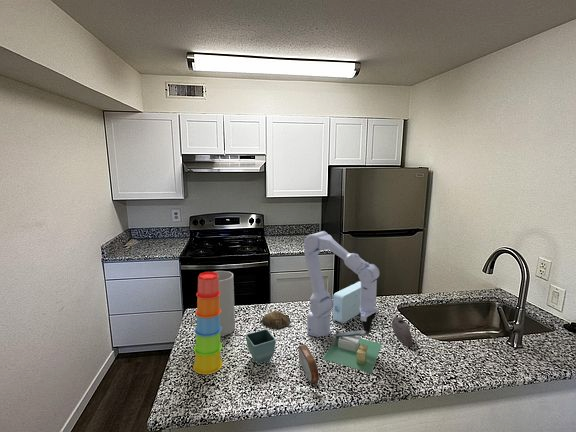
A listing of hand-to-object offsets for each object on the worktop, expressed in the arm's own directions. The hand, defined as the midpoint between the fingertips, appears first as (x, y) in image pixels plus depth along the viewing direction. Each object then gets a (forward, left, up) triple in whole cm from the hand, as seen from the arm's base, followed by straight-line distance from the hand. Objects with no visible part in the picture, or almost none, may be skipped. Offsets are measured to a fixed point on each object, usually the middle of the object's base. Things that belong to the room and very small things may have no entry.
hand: (366, 330), depth 118 cm
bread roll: (-42, +5, -10) cm, 44 cm away
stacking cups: (-49, -34, -9) cm, 61 cm away
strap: (-6, 0, -4) cm, 7 cm away
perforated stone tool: (+12, +15, -9) cm, 21 cm away
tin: (-15, -22, -9) cm, 28 cm away
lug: (0, -7, -8) cm, 11 cm away
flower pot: (-34, -22, -9) cm, 42 cm away
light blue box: (-13, +28, -9) cm, 32 cm away
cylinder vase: (-61, -12, -9) cm, 63 cm away
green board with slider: (-4, -3, -9) cm, 10 cm away
